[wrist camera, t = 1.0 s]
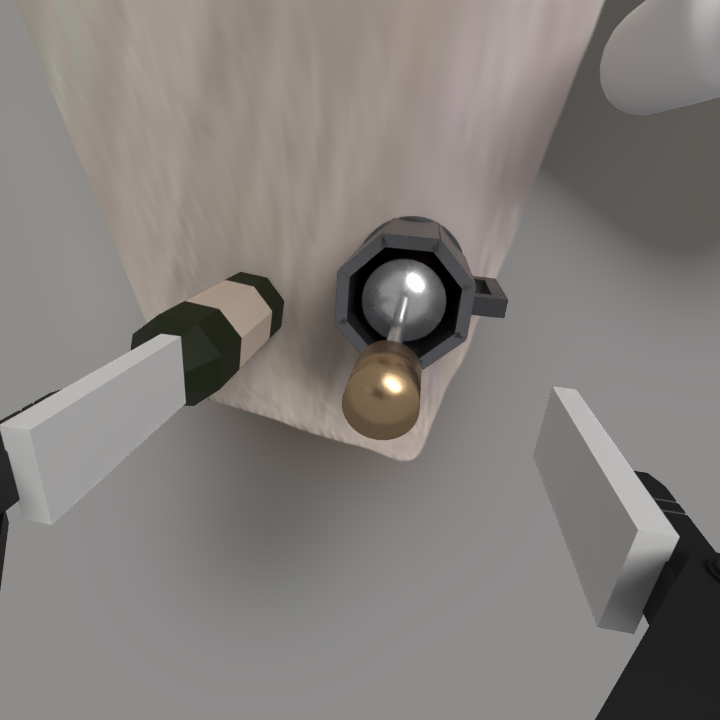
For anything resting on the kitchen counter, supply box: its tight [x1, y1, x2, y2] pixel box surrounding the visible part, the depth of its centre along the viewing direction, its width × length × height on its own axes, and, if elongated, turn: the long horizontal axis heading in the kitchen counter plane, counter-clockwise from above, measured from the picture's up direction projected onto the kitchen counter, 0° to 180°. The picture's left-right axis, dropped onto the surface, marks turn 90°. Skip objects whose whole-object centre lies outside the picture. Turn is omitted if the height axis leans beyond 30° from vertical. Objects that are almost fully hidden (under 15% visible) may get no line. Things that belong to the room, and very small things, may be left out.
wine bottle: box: [131, 272, 284, 406], centre depth 38 cm, size 8×8×30 cm
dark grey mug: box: [335, 216, 508, 370], centre depth 42 cm, size 12×14×13 cm
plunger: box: [342, 258, 446, 440], centre depth 29 cm, size 7×7×19 cm
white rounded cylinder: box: [600, 0, 720, 116], centre depth 30 cm, size 8×8×18 cm
